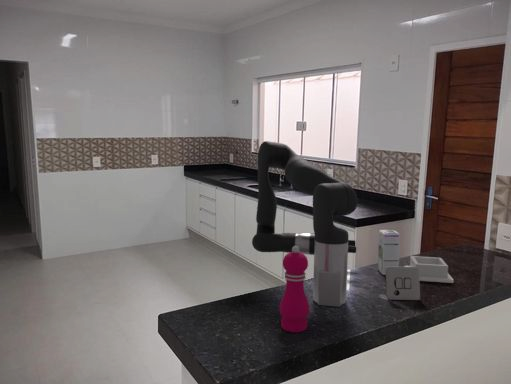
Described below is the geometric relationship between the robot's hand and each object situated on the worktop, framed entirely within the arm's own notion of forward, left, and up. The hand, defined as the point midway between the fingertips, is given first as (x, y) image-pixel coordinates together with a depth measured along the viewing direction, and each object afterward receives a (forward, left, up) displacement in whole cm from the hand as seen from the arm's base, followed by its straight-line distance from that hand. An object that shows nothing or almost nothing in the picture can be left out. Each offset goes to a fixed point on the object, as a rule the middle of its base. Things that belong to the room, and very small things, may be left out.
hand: (355, 246), depth 144 cm
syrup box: (0, -11, -9) cm, 14 cm away
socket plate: (0, -24, -8) cm, 25 cm away
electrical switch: (-23, -12, -9) cm, 27 cm away
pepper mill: (-49, +16, -9) cm, 52 cm away
